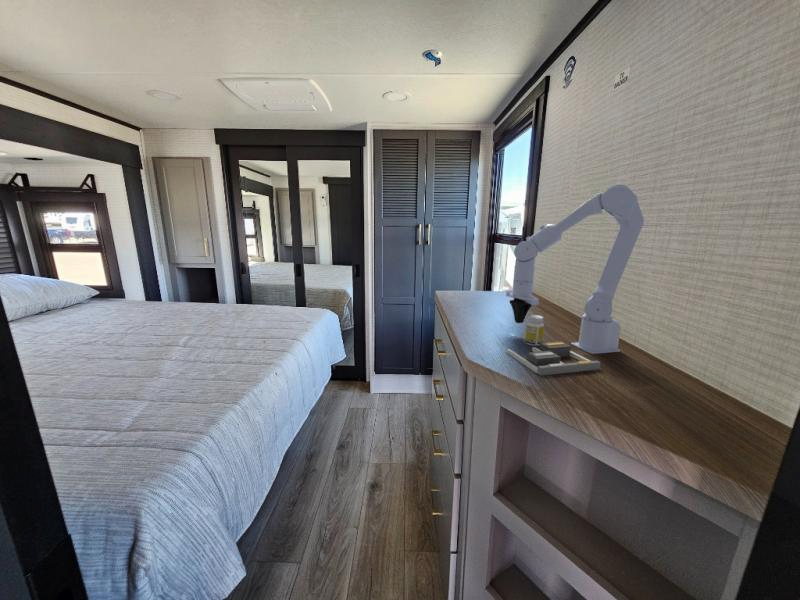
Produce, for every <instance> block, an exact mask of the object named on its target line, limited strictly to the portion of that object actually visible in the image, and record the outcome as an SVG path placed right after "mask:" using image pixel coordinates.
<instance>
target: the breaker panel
mask: <svg viewBox="0 0 800 600" xmlns="http://www.w3.org/2000/svg"><path fill="white" fill-rule="evenodd" d="M531 351H532V352H540V351H541V350H539V348H537V346H534V347H532V348H531ZM506 354H508V355H509V356H511V357H512V358H513V359H515V360H517V361H518V363H519V362H520V364H522V365H524V366H525V367H527V368H528V369H529V370H532V372H534V373H535V374H537V375H538V376H548V375H558V374H559V375H560V374H566V373H579V372H586V371H596V370H600V369H601V361H599V360H591V359H588V358H587V357H585V356H582V355H580V354H578V353H576V352H574V351H573V350H570V356H569V357H570V358H571V357H572V358H573V359H575V360H577V361H576V362H569V363H564V362H563V361H561V360H560V363H558V364H548V365H546V366H538V367H536V366H535V365H533V364H532V363H530V362H529V361H527V358H525V357H523V356H521V355H520V354H518V353H516V352H515V351H514V350H512V349H511V348H507V349H506Z"/></svg>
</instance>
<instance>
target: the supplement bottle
mask: <svg viewBox="0 0 800 600" xmlns="http://www.w3.org/2000/svg"><path fill="white" fill-rule="evenodd" d="M543 322H544V316H542V315H538V314H530V315H528V319H527V322H526V325H525V336H524V337H525V338H524V343H525V344H527V345H530V346H534V347H540V343H543V337H544V329H545V328H544V327H545V325H544V323H543Z"/></svg>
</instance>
